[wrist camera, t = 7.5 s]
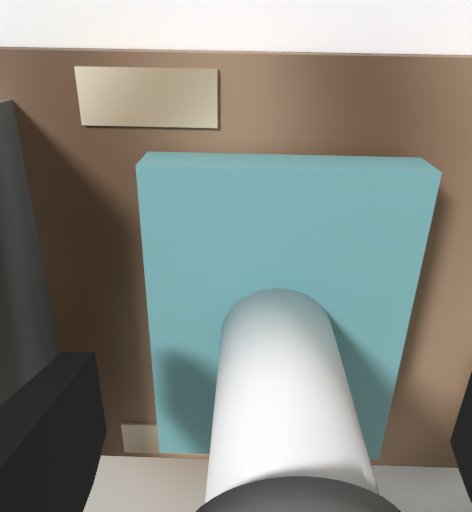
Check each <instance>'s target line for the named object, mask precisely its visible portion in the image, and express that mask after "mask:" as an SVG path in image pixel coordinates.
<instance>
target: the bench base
mask: <svg viewBox="0 0 472 512" xmlns="http://www.w3.org/2000/svg"><path fill="white" fill-rule="evenodd" d="M148 151H149V152H194V153H239V154H284V155H330V156H375V157H420V158H423V159H424V160H425V161H427V162H428V163H430V164H431V165H432V166H434V167H435V168H437V169H438V170H439V171H441V172H442V175H441V180H440V184H439V189H438V193H437V198H436V202H435V207H434V211H433V216H432V221H431V225H430V230H429V234H428V239H427V243H426V248H425V252H424V257H423V261H422V266H421V271H420V275H419V280H418V284H417V289H416V293H415V298H414V302H413V307H412V311H411V316H410V320H409V325H408V330H407V334H406V339H405V343H404V348H403V352H402V357H401V361H400V366H399V370H398V375H397V380H396V384H395V389H394V393H393V398H392V402H391V407H390V411H389V416H388V420H387V425H386V430H385V434H384V439H383V443H382V448H381V452H380V457H379V460H370V464H371V465H393V466H422V467H451V468H458V465H457V462H456V459H455V455H454V452H453V449H452V446H451V443H450V439H451V436H452V433H453V430H454V426H455V423H456V420H457V417H458V414H459V410H460V407H461V404H462V401H463V397H464V394H465V391H466V388H467V385H468V381H469V378H470V375H471V372H472V55H427V54H371V53H316V52H260V51H204V50H148V49H93V48H37V47H0V405H1V404H3V403H4V402H5V401H6V400H7V399H9V398H10V397H11V396H12V395H13V394H14V393H16V392H17V391H18V390H19V389H20V388H21V387H23V386H24V385H25V384H26V383H27V382H28V381H29V380H31V379H32V378H33V377H34V376H35V375H36V374H38V373H39V372H40V371H41V370H42V369H43V368H44V367H46V366H47V365H48V364H49V363H50V362H51V361H53V360H54V359H55V358H56V357H57V356H59V355H60V354H61V353H62V352H94V353H95V357H96V363H97V370H98V376H99V383H100V390H101V396H102V403H103V410H104V416H105V423H106V429H107V432H106V436H105V440H104V444H103V448H102V452H101V455H106V456H136V457H163V458H165V457H166V458H192V459H209V456H210V454H189V453H160V452H159V442H158V430H157V418H156V406H155V394H154V382H153V370H152V358H151V346H150V334H149V322H148V309H147V297H146V285H145V273H144V261H143V249H142V237H141V225H140V213H139V201H138V189H137V177H136V164H137V163H138V162H139V161H140V160H141V159H142V158H143V156H144V155H145V154H146V153H147V152H148Z"/></svg>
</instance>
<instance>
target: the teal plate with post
mask: <svg viewBox="0 0 472 512" xmlns="http://www.w3.org/2000/svg"><path fill="white" fill-rule="evenodd" d="M441 175H442V172H441V171H439V170H438V169H437V168H435V167H434V166H432V165H431V164H430V163H428V162H427V161H425V160H424V159H423V158H420V157H375V156H330V155H284V154H239V153H194V152H149V151H148V152H147V153H146V154H145V155H144V156H143V158H142V159H141V160H140V161H139V162H138V163H137V164H136V177H137V189H138V201H139V213H140V225H141V237H142V249H143V261H144V273H145V285H146V297H147V309H148V322H149V334H150V346H151V358H152V370H153V382H154V394H155V406H156V418H157V430H158V442H159V452H160V453H189V454H210V456H209V467H208V477H207V487H206V498H205V504H204V505H203V506H201V507H200V508H199V509H198V510H197V511H196V512H401V511H400V510H398V509H397V508H396V507H395V506H394V505H393V504H392V503H390V502H389V501H387V500H386V499H385V498H383V497H381V496H379V492H378V489H377V485H376V481H375V478H374V474H373V471H372V467H371V464H370V460H379V457H380V452H381V448H382V443H383V439H384V434H385V430H386V425H387V420H388V416H389V411H390V407H391V402H392V398H393V393H394V389H395V384H396V380H397V375H398V370H399V366H400V361H401V357H402V352H403V348H404V343H405V339H406V334H407V330H408V325H409V320H410V316H411V311H412V307H413V302H414V298H415V293H416V289H417V284H418V280H419V275H420V271H421V266H422V261H423V257H424V252H425V248H426V243H427V239H428V234H429V230H430V225H431V221H432V216H433V211H434V207H435V202H436V198H437V193H438V189H439V184H440V180H441Z"/></svg>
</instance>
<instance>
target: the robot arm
mask: <svg viewBox="0 0 472 512" xmlns="http://www.w3.org/2000/svg"><path fill="white" fill-rule="evenodd" d="M106 432H107V429H106V423H105V416H104V410H103V403H102V396H101V390H100V383H99V376H98V370H97V363H96V357H95V353H94V352H62V353H61V354H60V355H59V356H57V357H56V358H55V359H54V360H53V361H51V362H50V363H49V364H48V365H47V366H46V367H44V368H43V369H42V370H41V371H40V372H39V373H38V374H36V375H35V376H34V377H33V378H32V379H31V380H29V381H28V382H27V383H26V384H25V385H24V386H23V387H21V388H20V389H19V390H18V391H17V392H16V393H14V394H13V395H12V396H11V397H10V398H9V399H7V400H6V401H5V402H4V403H3V404H1V405H0V512H83V510H84V507H85V504H86V502H87V499H88V497H89V494H90V491H91V488H92V486H93V483H94V479H95V475H96V472H97V468H98V464H99V460H100V456H101V452H102V448H103V444H104V440H105V436H106ZM450 443H451V446H452V449H453V452H454V455H455V459H456V462H457V465H458V468H459V471H460V474H461V476H462V479H463V482H464V485H465V487H466V490H467V493H468V496H469V498H470V500H471V502H472V372H471V375H470V378H469V381H468V385H467V388H466V391H465V394H464V397H463V401H462V404H461V407H460V410H459V414H458V417H457V420H456V423H455V426H454V430H453V433H452V436H451V439H450Z"/></svg>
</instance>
